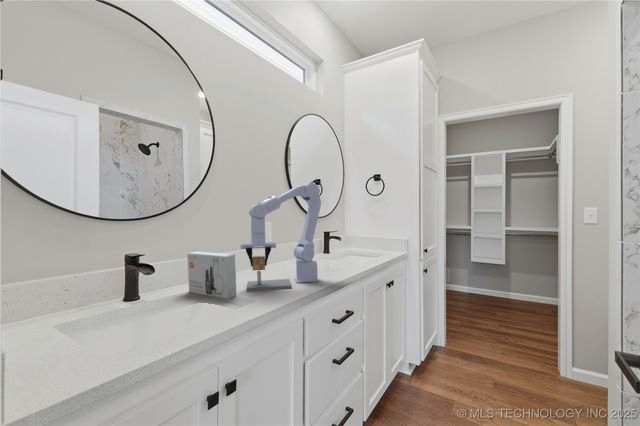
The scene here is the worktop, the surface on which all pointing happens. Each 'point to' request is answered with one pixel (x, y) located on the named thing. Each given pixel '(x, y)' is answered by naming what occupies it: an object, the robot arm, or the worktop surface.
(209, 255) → the skincare box
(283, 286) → the grey flat block
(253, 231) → the robot arm
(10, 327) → the worktop surface
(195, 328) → the worktop surface
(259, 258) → the oak bead
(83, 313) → the worktop surface
